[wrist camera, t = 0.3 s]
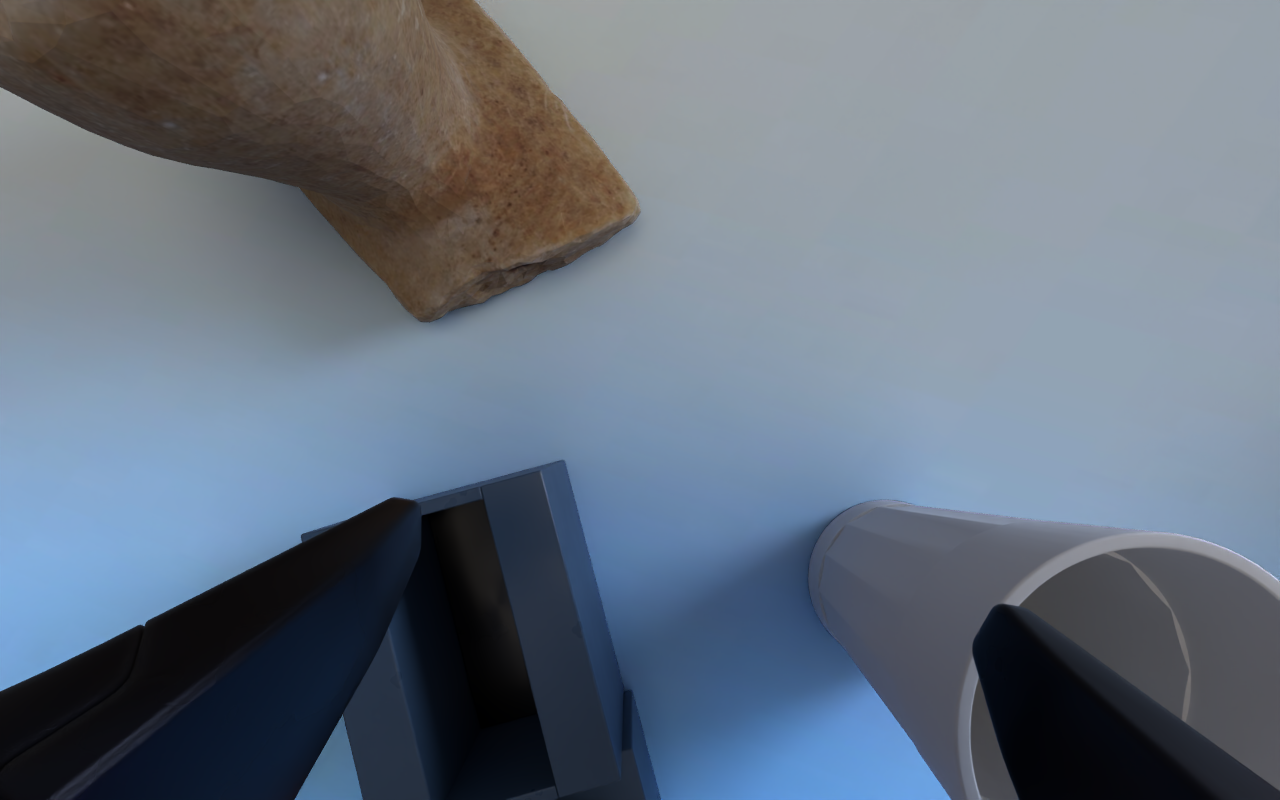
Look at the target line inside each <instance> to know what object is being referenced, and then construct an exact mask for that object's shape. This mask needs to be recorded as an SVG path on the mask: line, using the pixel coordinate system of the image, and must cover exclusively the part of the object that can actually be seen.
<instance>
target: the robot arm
mask: <svg viewBox="0 0 1280 800" xmlns="http://www.w3.org/2000/svg"><path fill="white" fill-rule="evenodd" d="M420 549H421V506H420V504H419V503H418V502H417V501H414V500H408V499H403V498H396V497H393V498H390V499H387V500H385V501H383V502H382V503H380V504H378V505H376V506H374V507H372V508H370V509H368V510H366V511H364V512H362V513H360V514H358V515H356V516H354V517H352V518H350V519H348V520H346V521H344V522H342V523H340V524H338V525H336V526H334V527H332V528H330V529H328V530H326V531H324V532H322V533H320V534H318V535H316V536H314V537H312V538H310V539H308V540H306V541H304V542H302V543H300V544H298V545H296V546H295V547H293V548H291V549H289V550H287V551H285V552H283V553H281V554H279V555H277V556H275V557H273V558H271V559H269V560H267V561H265V562H263V563H261V564H259V565H257V566H255V567H253V568H251V569H249V570H247V571H245V572H243V573H241V574H239V575H237V576H235V577H233V578H231V579H229V580H227V581H225V582H223V583H221V584H219V585H217V586H215V587H213V588H211V589H209V590H207V591H206V592H204V593H202V594H200V595H198V596H196V597H194V598H192V599H190V600H188V601H186V602H184V603H182V604H180V605H178V606H176V607H174V608H172V609H170V610H168V611H166V612H164V613H162V614H160V615H158V616H156V617H154V618H152V619H150V620H148V621H147V622H146V624H145V627H144V626H143V625H138V626H136V627H134V628H132V629H130V630H128V631H126V632H124V633H122V634H120V635H118V636H116V637H114V638H112V639H110V640H108V641H106V642H104V643H102V644H100V645H98V646H96V647H94V648H92V649H90V650H88V651H86V652H84V653H82V654H80V655H78V656H75V657H73V658H71V659H69V660H67V661H65V662H63V663H61V664H59V665H57V666H55V667H53V668H51V669H49V670H47V671H45V672H42V673H40V674H38V675H36V676H34V677H31V678H29V679H27V680H25V681H22V682H20V683H18V684H16V685H14V686H11V687H9V688H7V689H5V690H3V691H0V800H294V799H295V797H296V796H297V794H298V792H299V790H300V788H301V787H302V785H303V783H304V781H305V780H306V778H307V776H308V774H309V773H310V771H311V769H312V767H313V765H314V764H315V762H316V760H317V758H318V757H319V755H320V753H321V751H322V750H323V748H324V746H325V744H326V743H327V741H328V739H329V737H330V735H331V734H332V732H333V730H334V728H335V727H336V725H337V723H338V721H339V720H340V718H341V716H342V714H343V713H344V711H345V709H346V707H347V705H348V704H349V702H350V700H351V698H352V697H353V695H354V693H355V691H356V690H357V688H358V686H359V684H360V683H361V681H362V679H363V677H364V675H365V674H366V672H367V670H368V668H369V667H370V665H371V663H372V661H373V659H374V657H375V655H376V654H377V652H378V650H379V648H380V645H381V643H382V641H383V639H384V637H385V634H386V632H387V630H388V627H389V625H390V623H391V620H392V618H393V616H394V613H395V611H396V609H397V606H398V604H399V602H400V599H401V597H402V595H403V592H404V590H405V588H406V585H407V583H408V581H409V578H410V576H411V574H412V571H413V569H414V567H415V564H416V562H417V560H418V557H419V553H420ZM972 654H973V659H974V662H975V666H976V669H977V672H978V676H979V679H980V683H981V686H982V690H983V693H984V697H985V700H986V704H987V707H988V710H989V714H990V717H991V721H992V724H993V728H994V731H995V735H996V738H997V741H998V744H999V748H1000V751H1001V754H1002V757H1003V760H1004V762H1005V765H1006V768H1007V770H1008V773H1009V776H1010V778H1011V781H1012V783H1013V786H1014V789H1015V791H1016V794H1017V796H1018V799H1019V800H1280V791H1279V790H1278V789H1276V788H1275V787H1274V786H1272V785H1271V784H1269V783H1268V782H1267V781H1265V780H1264V779H1263V778H1261V777H1260V776H1258V775H1257V774H1256V773H1254V772H1253V771H1252V770H1250V769H1249V768H1247V767H1246V766H1245V765H1243V764H1242V763H1240V762H1239V761H1238V760H1236V759H1235V758H1234V757H1232V756H1231V755H1229V754H1228V753H1227V752H1225V751H1224V750H1223V749H1221V748H1220V747H1218V746H1217V745H1216V744H1214V743H1213V742H1211V741H1210V740H1209V739H1207V738H1206V737H1205V736H1203V735H1202V734H1200V733H1199V732H1198V731H1196V730H1195V729H1194V728H1192V727H1191V726H1189V725H1188V724H1187V723H1185V722H1184V721H1182V720H1181V719H1180V718H1178V717H1177V716H1176V715H1174V714H1173V713H1171V712H1170V711H1169V710H1167V709H1166V708H1165V707H1163V706H1162V705H1160V704H1159V703H1158V702H1156V701H1155V700H1153V699H1152V698H1151V697H1149V696H1148V695H1147V694H1145V693H1144V692H1142V691H1141V690H1140V689H1138V688H1137V687H1136V686H1134V685H1133V684H1131V683H1130V682H1129V681H1127V680H1126V679H1124V678H1123V677H1122V676H1120V675H1119V674H1118V673H1116V672H1115V671H1113V670H1112V669H1111V668H1109V667H1108V666H1107V665H1105V664H1104V663H1102V662H1101V661H1100V660H1098V659H1097V658H1095V657H1094V656H1093V655H1091V654H1090V653H1089V652H1087V651H1086V650H1084V649H1083V648H1082V647H1080V646H1079V645H1078V644H1076V643H1075V642H1073V641H1072V640H1071V639H1069V638H1068V637H1066V636H1065V635H1064V634H1062V633H1061V632H1060V631H1058V630H1057V629H1055V628H1054V627H1053V626H1051V625H1050V624H1049V623H1047V622H1046V621H1044V620H1043V619H1042V618H1040V617H1039V616H1037V615H1036V614H1035V613H1033V612H1032V611H1030V610H1029V609H1027V608H1024V607H1021V606H1015V605H1009V604H1004V603H1001V604H997V605H995V606H994V607H993V608H992V609H991V610H990V612H989V614H988V616H987V617H986V619H985V621H984V622H983V624H982V626H981V627H980V629H979V631H978V633H977V634H976V636H975V638H974V640H973V644H972Z"/></svg>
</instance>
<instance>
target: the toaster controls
mask: <svg viewBox="0 0 1280 800" xmlns="http://www.w3.org/2000/svg"><path fill="white" fill-rule="evenodd" d="M555 800H661V798H660V794H659V790H658V787H657V783H656V779H655V775H654V771H653V768H652V764H651V760H650V756H649V752H648V748H647V745H646V741H645V737H644V733H643V729H642V725H641V722H640V718H639V714H638V710H637V706H636V702H635V699H634V695H633V692H632V691H628V692H624V700H623V732H622V765H621V780H620V781H617V782H614V783H610V784H607V785H603V786H600V787H596V788H593V789H589V790H586V791H582V792H579V793H575V794H572V795H568V796H565V797H561V798H560V797H558V799H555Z"/></svg>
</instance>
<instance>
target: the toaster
mask: <svg viewBox="0 0 1280 800" xmlns="http://www.w3.org/2000/svg"><path fill="white" fill-rule="evenodd" d="M414 501H417V502H418V503H419V504H420V506H421V549H420V553H419V557H418V560H417V562H416V564H415V567H414V569H413V571H412V574H411V576H410V578H409V581H408V583H407V585H406V588H405V590H404V592H403V595H402V597H401V599H400V602H399V604H398V606H397V609H396V611H395V613H394V616H393V618H392V620H391V623H390V625H389V627H388V630H387V632H386V634H385V637H384V639H383V641H382V643H381V645H380V648H379V650H378V652H377V654H376V655H375V657H374V659H373V661H372V663H371V665H370V667H369V668H368V670H367V672H366V674H365V675H364V677H363V679H362V681H361V683H360V684H359V686H358V688H357V690H356V691H355V693H354V695H353V697H352V698H351V700H350V702H349V704H348V705H347V707H346V709H345V711H344V713H343V717H344V721H345V725H346V729H347V734H348V738H349V742H350V746H351V750H352V755H353V759H354V763H355V767H356V771H357V776H358V780H359V784H360V788H361V793H362V797H363V800H555V799H558V797H560V798H561V797H565V796H568V795H572V794H575V793H579V792H582V791H586V790H589V789H593V788H596V787H600V786H603V785H607V784H610V783H614V782H617V781H620V780H621V765H622V732H623V700H624V687H623V683H622V679H621V675H620V671H619V668H618V664H617V660H616V656H615V652H614V648H613V645H612V641H611V637H610V633H609V629H608V625H607V621H606V618H605V614H604V610H603V606H602V602H601V598H600V595H599V591H598V587H597V583H596V579H595V575H594V572H593V568H592V564H591V560H590V556H589V552H588V549H587V545H586V541H585V537H584V533H583V529H582V526H581V522H580V518H579V514H578V510H577V506H576V503H575V499H574V495H573V491H572V487H571V483H570V480H569V476H568V472H567V468H566V464H565V461H564V460H561V461H557V462H553V463H549V464H546V465H542V466H538V467H535V468H531V469H527V470H523V471H520V472H516V473H512V474H509V475H505V476H501V477H497V478H494V479H490V480H486V481H482V482H479V483H475V484H471V485H468V486H464V487H460V488H456V489H453V490H449V491H445V492H442V493H438V494H434V495H431V496H427V497H423V498H419V499H416V500H414ZM345 521H346V520H345ZM342 522H344V521H342ZM342 522H339V523H336V524H332V525H329V526H326V527H323V528H320V529H317V530H313V531H310V532H307V533H304V534H302V535H301V540H302V542H304V541H306V540H308V539H310V538H312V537H314V536H316V535H318V534H320V533H322V532H324V531H326V530H328V529H330V528H332V527H334V526H336V525H338V524H340V523H342Z"/></svg>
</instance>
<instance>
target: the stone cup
mask: <svg viewBox="0 0 1280 800" xmlns="http://www.w3.org/2000/svg"><path fill="white" fill-rule="evenodd" d="M0 87H1V88H3V89H5V90H7V91H10V92H11V93H13V94H15V95H17V96H19V97H21V98H23V99H25V100H27V101H29V102H30V103H32V104H34V105H36V106H38V107H40V108H42V109H44V110H46V111H48V112H50V113H52V114H54V115H56V116H59V117H61V118H63V119H65V120H67V121H69V122H71V123H73V124H75V125H77V126H79V127H81V128H83V129H85V130H87V131H90V132H92V133H95V134H97V135H100V136H102V137H105V138H107V139H109V140H112V141H114V142H117V143H119V144H122V145H124V146H127V147H130V148H133V149H135V150H138V151H141V152H144V153H147V154H150V155H153V156H157V157H161V158H165V159H169V160H173V161H177V162H181V163H185V164H189V165H194V166H200V167H207V168H213V169H219V170H223V171H228V172H234V173H239V174H244V175H249V176H255V177H260V178H265V179H269V180H273V181H276V182H280V183H284V184H288V185H291V186H295V187H299V188H300V189H301V191H302V192H303V193H304V194H305V195H306V196H307V198H308V199H309V200H310V201H311V202H312V203H313V205H314V206H315V207H316V208H317V209H318V210H319V212H320V213H321V214H322V215H323V216H324V217H325V218H326V219H327V221H328V222H329V223H330V224H331V225H332V226H333V227H334V229H335V230H336V231H337V232H338V233H339V234H340V235H341V236H342V238H343V239H344V240H345V241H346V242H347V243H348V244H349V245H350V247H351V248H352V249H353V250H354V251H355V252H356V253H357V254H358V256H359V257H360V258H361V259H362V260H363V261H364V262H365V263H366V264H367V265H368V266H369V267H370V268H371V269H372V270H373V271H374V272H375V273H376V274H377V275H378V276H379V277H380V278H381V279H382V280H383V281H384V282H385V283H386V284H387V285H388V287H389V288H390V290H391V291H392V293H393V294H394V296H395V297H396V298H397V300H398V301H399V302H400V303H401V304H402V305H403V307H404V308H405V309H406V310H407V311H408V312H410V313H411V314H412V315H413V316H414V317H415V318H417V319H418V320H419V321H421V322H431V321H434V320H437V319H439V318H441V317H443V316H444V315H445V314H446V313H447V312H449V311H452V310H455V309H458V308H462V307H466V306H470V305H474V304H479V303H484V302H485V301H486V300H487V299H489V298H490V297H491V296H494V295H497V294H501V293H503V292H505V291H507V290H509V289H510V288H512V287H517V286H521V285H523V284H525V283H527V282H529V281H531V280H532V279H533V278H534V277H535V276H537V275H538V274H540V273H542V272H545V271H547V270H555V269H558V268H561V267H563V266H566V265H568V264H570V263H571V262H573V261H574V260H576V259H577V258H579V257H580V256H581V255H583V254H584V253H586V252H588V251H590V250H591V249H593V248H595V247H598V246H601V245H602V244H604V243H605V242H606V241H608V240H609V239H610V238H611V237H612V236H613V235H615V234H616V233H617V232H619V231H620V230H622V229H623V228H625V227H627V226H629V225H631V224H632V223H633V222H634V221H635V220H636V218H637V217H638V215H639V214H640V212H641V210H640V204H639V201H638V199H637V198H636V196H635V195H634V193H633V192H632V190H631V189H630V187H629V186H628V185H627V183H626V182H625V181H624V179H623V178H622V177H621V175H620V174H619V173H618V172H617V170H616V169H615V168H614V167H613V165H612V164H611V163H610V161H609V160H608V158H607V157H606V155H605V154H604V153H603V151H602V150H601V149H600V147H599V146H598V145H597V143H596V142H595V141H594V139H593V138H592V137H591V135H590V134H589V133H588V132H587V131H586V130H585V129H584V127H583V126H582V125H581V124H580V123H579V122H578V121H577V120H576V119H575V118H574V116H573V115H572V114H571V112H570V111H569V110H568V108H567V107H566V106H565V105H564V103H563V102H562V101H561V100H560V99H559V98H558V97H557V96H555V95H554V94H553V93H552V92H551V90H550V89H549V87H548V86H547V84H546V83H545V81H544V80H543V79H542V78H541V76H540V75H539V74H538V73H537V71H536V70H535V69H534V68H533V66H532V65H531V64H530V63H529V61H528V60H527V59H526V58H525V57H524V55H523V54H522V53H521V52H520V51H519V49H518V48H517V47H516V46H515V45H514V43H513V42H512V41H511V40H510V39H509V37H508V36H507V35H506V34H505V33H504V32H503V30H502V29H501V28H500V27H499V26H498V25H497V24H496V22H495V21H494V20H493V19H492V18H491V17H490V16H489V15H488V14H487V13H486V12H485V11H484V10H483V9H482V8H481V7H480V6H479V5H478V4H477V3H476V2H475V0H0Z"/></svg>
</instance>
